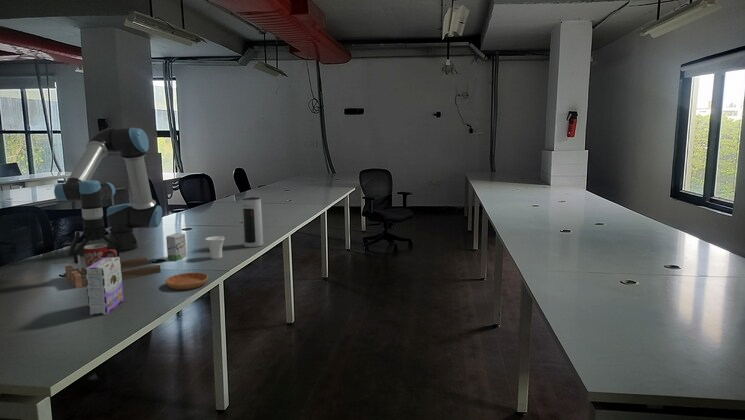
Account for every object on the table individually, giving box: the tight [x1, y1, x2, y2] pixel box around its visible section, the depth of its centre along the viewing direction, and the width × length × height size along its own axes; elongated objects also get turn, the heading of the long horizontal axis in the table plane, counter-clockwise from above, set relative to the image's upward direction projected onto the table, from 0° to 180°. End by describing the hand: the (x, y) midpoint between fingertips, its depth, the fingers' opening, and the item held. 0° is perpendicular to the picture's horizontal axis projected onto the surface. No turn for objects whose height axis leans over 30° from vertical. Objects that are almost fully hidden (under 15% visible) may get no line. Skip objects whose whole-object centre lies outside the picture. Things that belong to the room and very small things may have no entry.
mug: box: [82, 243, 117, 267], centre depth 201 cm, size 13×9×14 cm
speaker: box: [240, 196, 264, 248], centre depth 257 cm, size 11×10×26 cm
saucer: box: [165, 272, 209, 291], centre depth 191 cm, size 16×16×3 cm
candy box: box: [85, 256, 125, 316], centre depth 165 cm, size 14×6×16 cm, turn 5°
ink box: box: [165, 232, 188, 262], centre depth 232 cm, size 8×5×12 cm, turn 167°
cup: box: [204, 235, 225, 260], centre depth 233 cm, size 9×9×10 cm
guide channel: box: [64, 256, 161, 289], centre depth 205 cm, size 20×32×5 cm, turn 132°
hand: (98, 267), depth 201 cm, fingers open, 13 cm apart
